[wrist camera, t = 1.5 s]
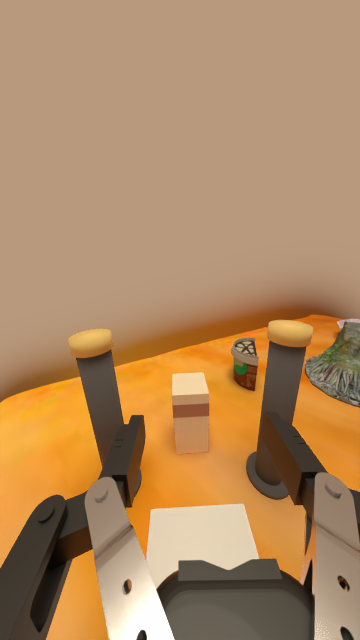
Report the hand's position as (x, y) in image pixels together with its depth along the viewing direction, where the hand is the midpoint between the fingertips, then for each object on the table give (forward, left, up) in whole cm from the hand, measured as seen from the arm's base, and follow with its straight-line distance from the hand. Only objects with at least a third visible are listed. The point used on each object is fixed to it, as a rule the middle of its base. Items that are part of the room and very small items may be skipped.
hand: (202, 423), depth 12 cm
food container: (-16, -33, -21) cm, 41 cm away
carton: (0, -16, -20) cm, 26 cm away
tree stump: (-42, -29, -21) cm, 55 cm away
